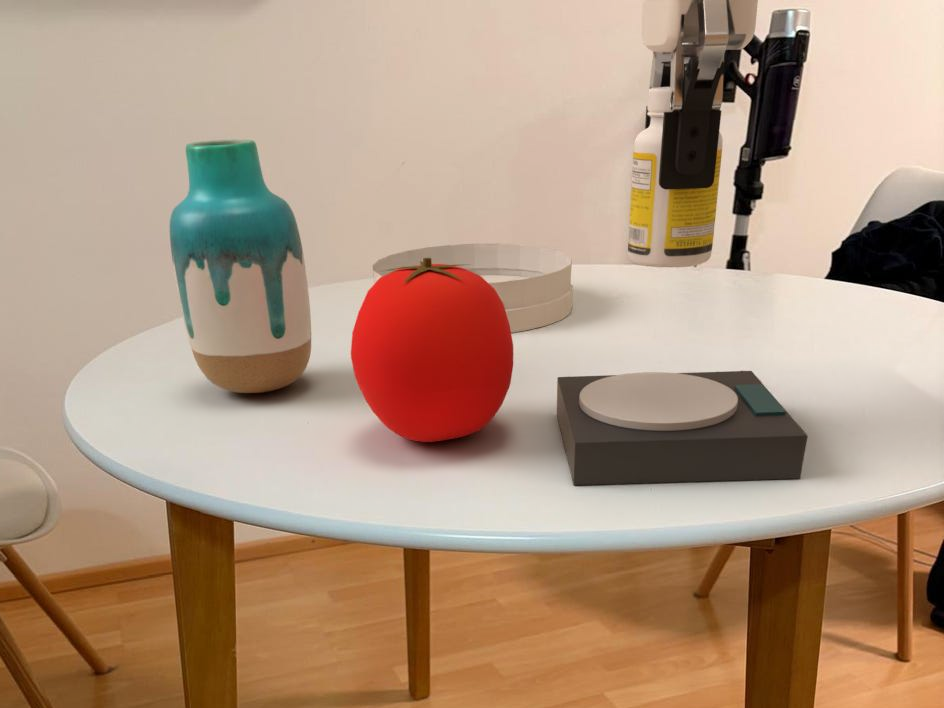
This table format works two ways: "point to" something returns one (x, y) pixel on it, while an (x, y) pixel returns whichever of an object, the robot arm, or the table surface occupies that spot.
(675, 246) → the supplement bottle
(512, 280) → the dish
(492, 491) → the table surface
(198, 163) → the vase
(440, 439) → the tomato
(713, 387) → the scale
